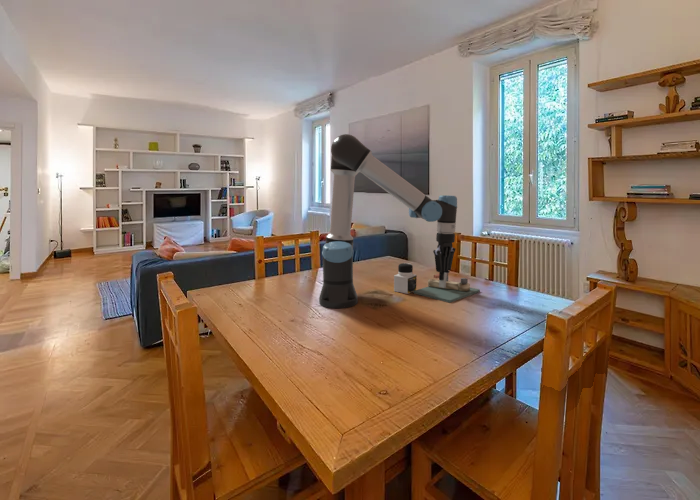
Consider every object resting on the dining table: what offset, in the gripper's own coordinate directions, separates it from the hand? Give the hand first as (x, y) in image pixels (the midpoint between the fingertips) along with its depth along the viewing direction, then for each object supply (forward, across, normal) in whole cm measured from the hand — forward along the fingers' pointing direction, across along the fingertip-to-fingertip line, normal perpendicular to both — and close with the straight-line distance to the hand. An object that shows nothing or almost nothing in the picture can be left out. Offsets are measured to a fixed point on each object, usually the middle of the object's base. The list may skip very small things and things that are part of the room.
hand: (442, 287), depth 163 cm
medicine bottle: (+3, -10, +12) cm, 16 cm away
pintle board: (+2, 0, -2) cm, 3 cm away
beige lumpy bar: (+1, +3, -1) cm, 3 cm away
